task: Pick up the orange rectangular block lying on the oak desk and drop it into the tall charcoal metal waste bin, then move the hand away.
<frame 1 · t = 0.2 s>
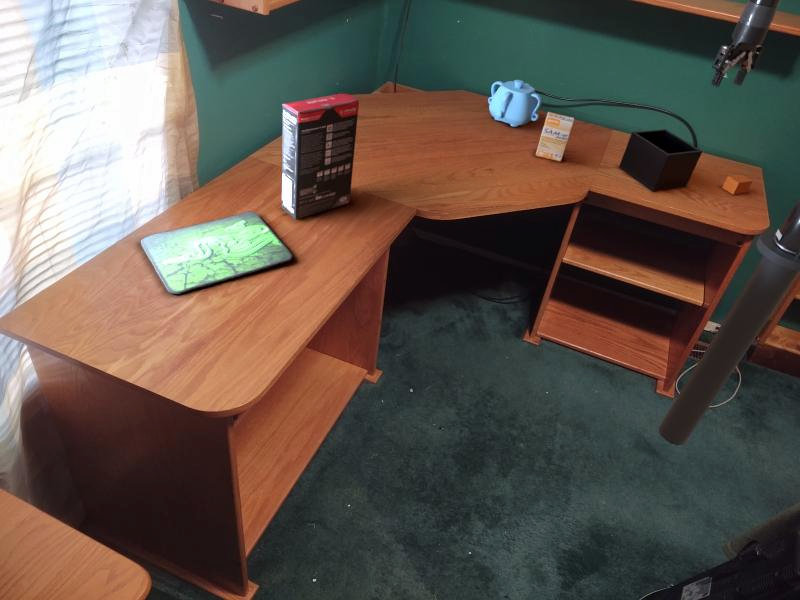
hand: (725, 85, 163), 31 cm above the table, tool pointing down, fingers open, 8 cm apart
graphics card box: (317, 207, 149), on the table
orange rectangular block: (734, 190, 184), on the table
mouse mat: (217, 251, 130), on the table
waste bin: (651, 177, 185), on the table
supplement box: (548, 157, 188), on the table
decorative pot: (510, 120, 208), on the table
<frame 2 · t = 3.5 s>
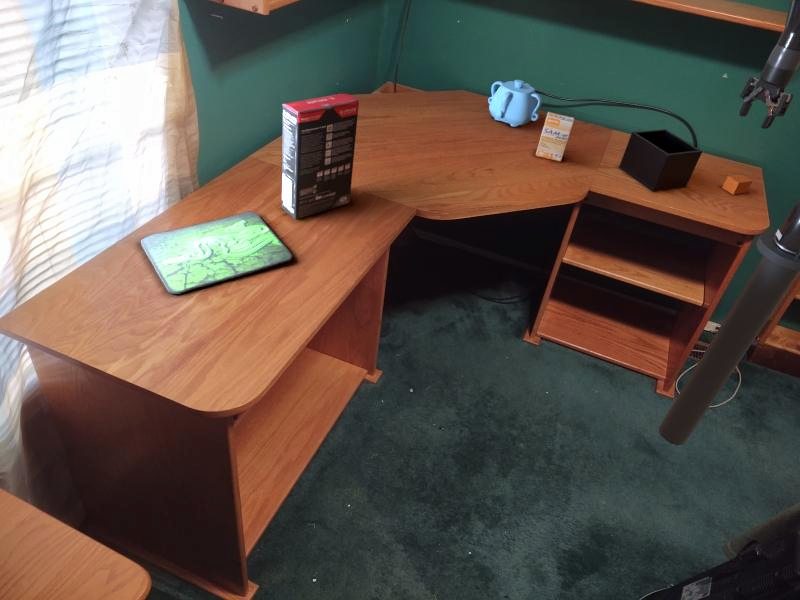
hand: (753, 121, 170), 22 cm above the table, tool pointing down, fingers open, 8 cm apart
nothing on the table moved.
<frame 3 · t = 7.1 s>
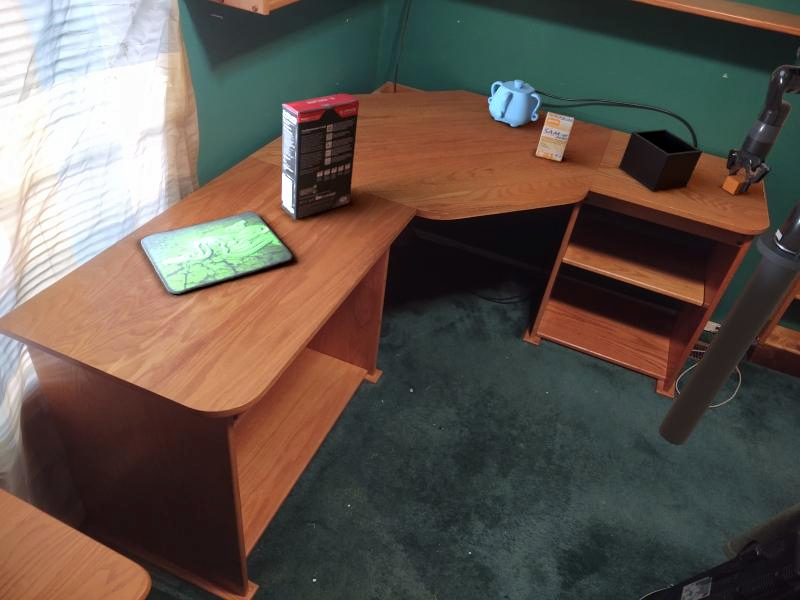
hand: (735, 188, 184), 1 cm above the table, tool pointing down, fingers closed on orange rectangular block, 4 cm apart
orange rectangular block: (734, 190, 184), on the table, touching gripper
everything else where it was.
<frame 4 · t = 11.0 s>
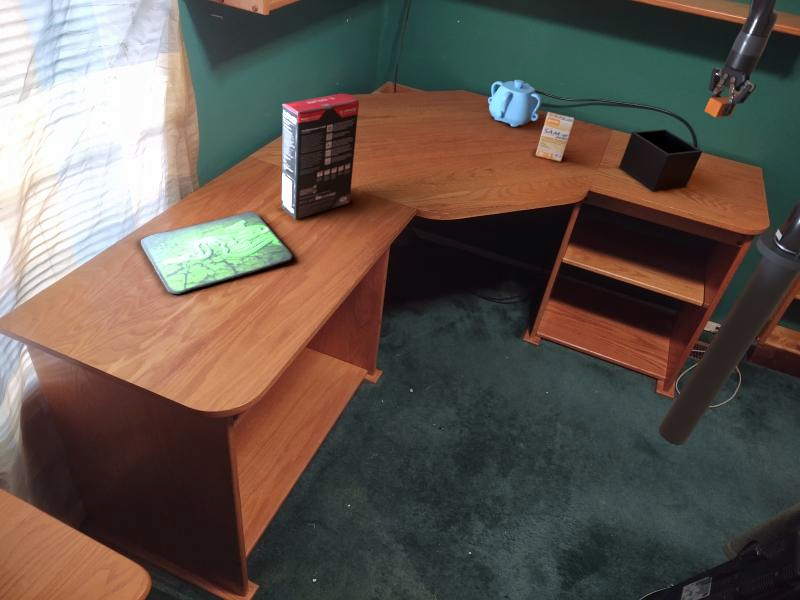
hand: (718, 111, 171), 23 cm above the table, tool pointing down, fingers closed on orange rectangular block, 4 cm apart
orange rectangular block: (717, 113, 171), point 22 cm above the table, touching gripper
everything else where it was.
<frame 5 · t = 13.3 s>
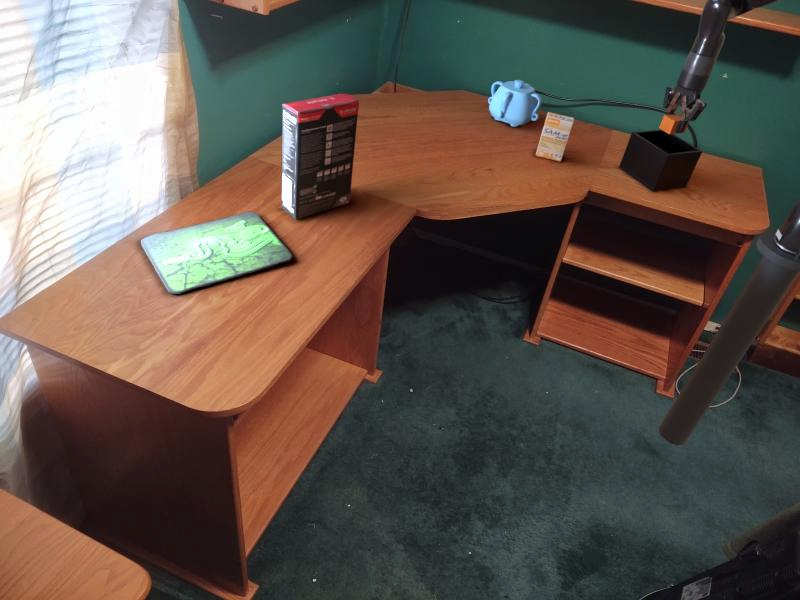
hand: (672, 128, 175), 16 cm above the table, tool pointing down, fingers closed on orange rectangular block, 4 cm apart
orange rectangular block: (671, 130, 175), point 15 cm above the table, touching gripper
everything else where it was.
when the fingers open (10 cm above the table, at t = 15.3 s): orange rectangular block drops 9 cm, resting on waste bin.
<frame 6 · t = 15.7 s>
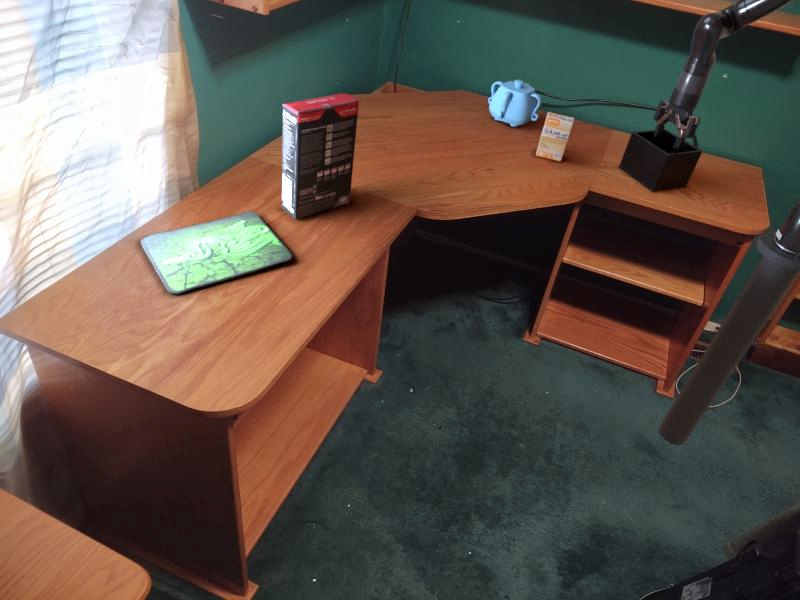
hand: (666, 142, 178), 11 cm above the table, tool pointing down, fingers open, 7 cm apart
orange rectangular block: (653, 174, 184), point 1 cm above the table, touching waste bin
everything else where it was.
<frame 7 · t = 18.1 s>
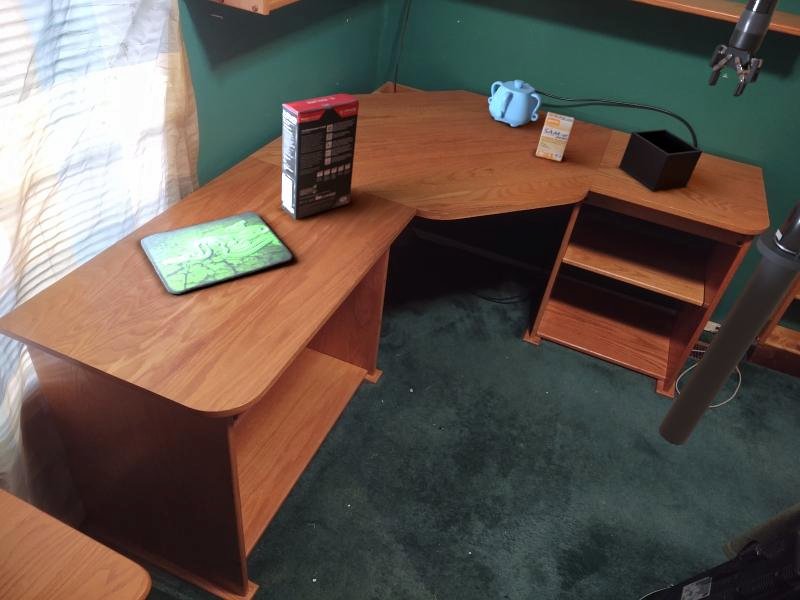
hand: (723, 90, 166), 29 cm above the table, tool pointing down, fingers open, 8 cm apart
nothing on the table moved.
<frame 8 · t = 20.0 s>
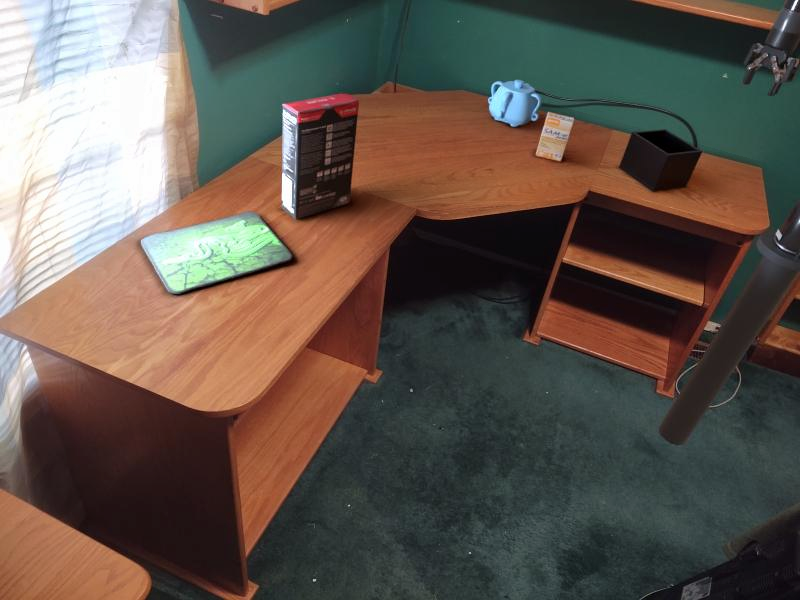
hand: (758, 89, 166), 30 cm above the table, tool pointing down, fingers open, 8 cm apart
nothing on the table moved.
at the end: orange rectangular block inside the target area in the waste bin (0.1 cm from its centre), point 0.8 cm above the waste bin's base; the gripper is holding nothing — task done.
